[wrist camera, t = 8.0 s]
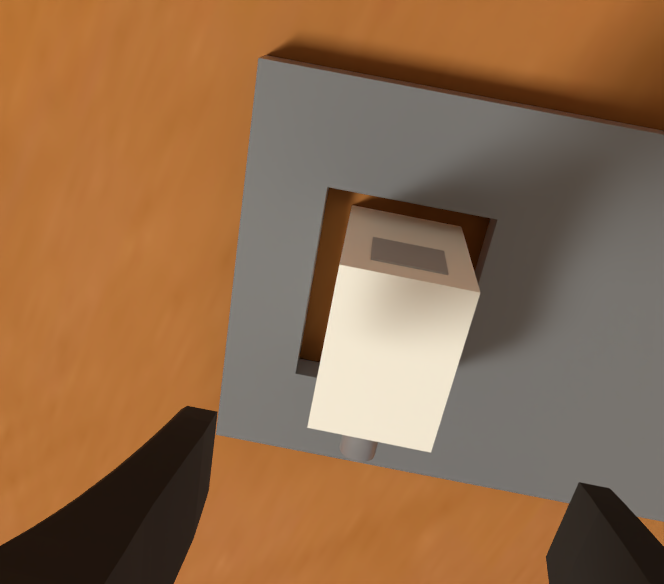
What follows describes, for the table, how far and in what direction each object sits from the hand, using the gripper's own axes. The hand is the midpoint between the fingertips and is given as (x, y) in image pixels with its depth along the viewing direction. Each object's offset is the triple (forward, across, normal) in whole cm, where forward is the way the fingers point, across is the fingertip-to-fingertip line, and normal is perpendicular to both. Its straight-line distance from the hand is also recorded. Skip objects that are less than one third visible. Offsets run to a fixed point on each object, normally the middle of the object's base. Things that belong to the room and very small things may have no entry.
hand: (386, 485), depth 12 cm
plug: (+10, 0, 0) cm, 10 cm away
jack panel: (+9, -7, 0) cm, 12 cm away
